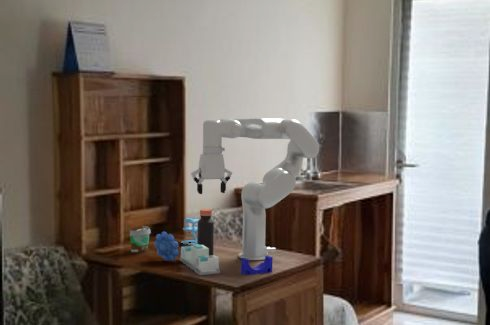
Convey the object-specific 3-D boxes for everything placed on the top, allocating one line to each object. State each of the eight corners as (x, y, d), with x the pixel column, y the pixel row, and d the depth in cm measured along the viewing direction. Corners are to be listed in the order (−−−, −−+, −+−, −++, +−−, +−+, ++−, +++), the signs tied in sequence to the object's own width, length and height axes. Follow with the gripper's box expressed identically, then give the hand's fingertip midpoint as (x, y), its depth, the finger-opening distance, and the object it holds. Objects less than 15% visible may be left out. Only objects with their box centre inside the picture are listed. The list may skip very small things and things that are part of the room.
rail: (198, 259, 296) (198, 244, 295) (219, 273, 274) (219, 257, 273) (180, 260, 293) (180, 246, 292) (199, 275, 271) (199, 259, 270)
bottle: (216, 258, 299) (216, 210, 297) (201, 259, 296) (201, 211, 294) (209, 254, 305) (210, 208, 303) (194, 256, 302) (195, 209, 300)
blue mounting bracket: (266, 269, 282) (266, 254, 281) (272, 272, 278) (272, 257, 277) (239, 272, 276) (239, 257, 276) (244, 275, 272) (244, 260, 272)
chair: (205, 243, 327) (206, 217, 326) (192, 246, 321) (193, 219, 320) (193, 240, 332) (194, 215, 331) (180, 243, 326) (181, 217, 325)
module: (202, 261, 287) (202, 243, 287) (208, 265, 281) (208, 246, 280) (190, 262, 285) (190, 244, 285) (196, 267, 279) (196, 247, 278)
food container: (142, 255, 301) (142, 231, 300) (129, 254, 303) (129, 230, 302) (155, 249, 313) (155, 226, 312) (142, 248, 315) (143, 225, 314)
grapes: (148, 261, 291) (148, 232, 289) (157, 258, 297) (157, 229, 296) (173, 264, 286) (173, 235, 284) (181, 261, 292) (182, 232, 290)
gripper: (228, 149, 294) (228, 191, 295) (188, 150, 287) (188, 192, 289) (235, 151, 287) (234, 193, 289) (194, 152, 280) (194, 195, 282)
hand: (211, 193), depth 289 cm, fingers open, 9 cm apart
